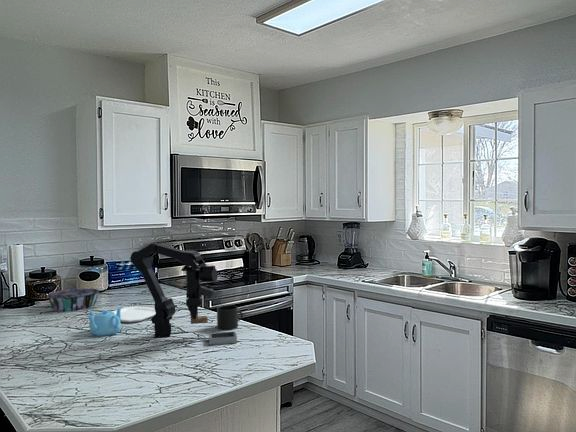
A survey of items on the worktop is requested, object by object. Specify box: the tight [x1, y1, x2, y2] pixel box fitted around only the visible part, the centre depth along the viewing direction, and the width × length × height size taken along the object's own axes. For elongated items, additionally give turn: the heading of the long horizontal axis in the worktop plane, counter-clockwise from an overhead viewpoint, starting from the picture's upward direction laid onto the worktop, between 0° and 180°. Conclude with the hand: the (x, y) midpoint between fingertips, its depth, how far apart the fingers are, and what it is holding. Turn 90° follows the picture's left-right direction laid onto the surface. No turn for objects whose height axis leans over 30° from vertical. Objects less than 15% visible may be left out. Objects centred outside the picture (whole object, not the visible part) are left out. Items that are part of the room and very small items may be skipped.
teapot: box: [86, 305, 123, 337], centre depth 208 cm, size 15×15×10 cm
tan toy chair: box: [190, 307, 209, 325], centre depth 198 cm, size 7×4×7 cm, turn 102°
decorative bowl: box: [46, 288, 101, 313], centre depth 260 cm, size 26×28×10 cm
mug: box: [216, 305, 244, 331], centre depth 214 cm, size 9×12×9 cm
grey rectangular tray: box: [208, 331, 238, 346], centre depth 193 cm, size 11×8×2 cm
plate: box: [111, 305, 156, 324], centre depth 237 cm, size 25×25×2 cm
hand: (194, 317), depth 198 cm, fingers closed on tan toy chair, 4 cm apart
